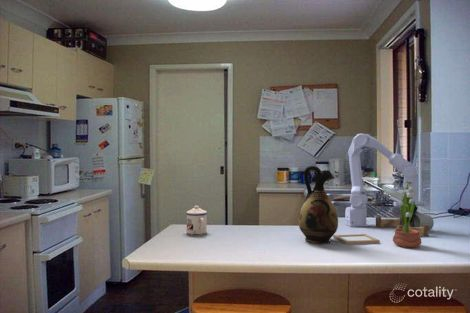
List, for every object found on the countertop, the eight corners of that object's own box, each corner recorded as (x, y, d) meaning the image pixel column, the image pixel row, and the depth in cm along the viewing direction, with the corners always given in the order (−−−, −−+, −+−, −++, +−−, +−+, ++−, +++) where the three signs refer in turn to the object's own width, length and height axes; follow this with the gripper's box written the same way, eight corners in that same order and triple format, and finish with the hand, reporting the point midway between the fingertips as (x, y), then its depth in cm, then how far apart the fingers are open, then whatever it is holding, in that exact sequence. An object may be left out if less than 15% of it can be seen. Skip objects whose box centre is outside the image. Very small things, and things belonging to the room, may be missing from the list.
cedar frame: (399, 236, 161) (399, 225, 160) (375, 226, 182) (375, 217, 182) (428, 236, 162) (428, 225, 162) (401, 226, 183) (401, 216, 183)
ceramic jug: (342, 239, 155) (343, 165, 154) (331, 247, 142) (332, 167, 141) (302, 234, 164) (303, 164, 163) (288, 242, 150) (289, 165, 150)
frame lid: (346, 244, 146) (346, 241, 146) (333, 238, 157) (333, 235, 157) (379, 243, 149) (379, 240, 149) (364, 236, 160) (364, 233, 160)
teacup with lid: (183, 231, 168) (183, 205, 168) (202, 229, 173) (202, 203, 172) (192, 237, 158) (193, 209, 158) (213, 235, 162) (213, 207, 162)
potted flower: (426, 251, 138) (427, 181, 137) (396, 249, 140) (397, 181, 139) (417, 243, 150) (418, 179, 149) (390, 241, 152) (391, 178, 151)
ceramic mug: (435, 231, 170) (435, 214, 170) (420, 232, 168) (420, 215, 168) (417, 227, 180) (417, 211, 180) (402, 228, 178) (402, 211, 178)
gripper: (399, 193, 167) (398, 224, 167) (430, 192, 168) (430, 223, 169) (391, 191, 174) (390, 221, 174) (421, 191, 175) (421, 220, 176)
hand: (409, 222), depth 172 cm, fingers closed
